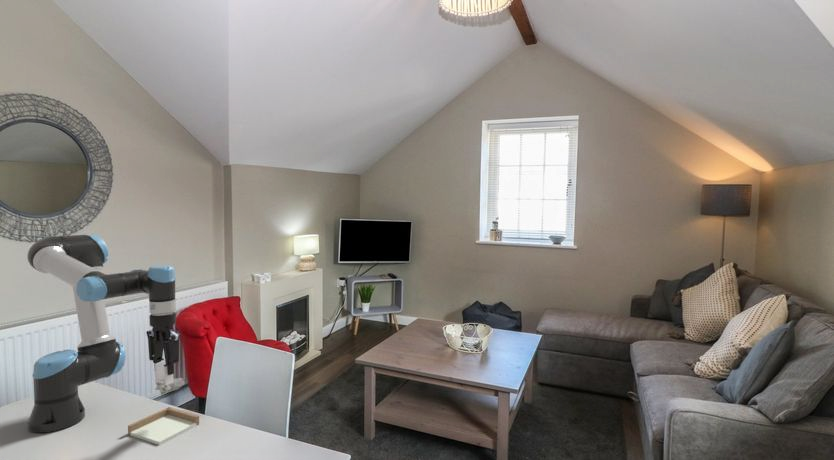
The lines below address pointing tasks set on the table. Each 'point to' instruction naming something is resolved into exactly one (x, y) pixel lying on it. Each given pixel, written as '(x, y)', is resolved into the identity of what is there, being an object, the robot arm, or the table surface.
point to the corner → (163, 425)
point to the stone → (173, 386)
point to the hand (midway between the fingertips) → (164, 382)
